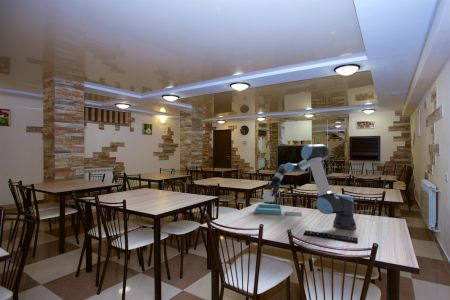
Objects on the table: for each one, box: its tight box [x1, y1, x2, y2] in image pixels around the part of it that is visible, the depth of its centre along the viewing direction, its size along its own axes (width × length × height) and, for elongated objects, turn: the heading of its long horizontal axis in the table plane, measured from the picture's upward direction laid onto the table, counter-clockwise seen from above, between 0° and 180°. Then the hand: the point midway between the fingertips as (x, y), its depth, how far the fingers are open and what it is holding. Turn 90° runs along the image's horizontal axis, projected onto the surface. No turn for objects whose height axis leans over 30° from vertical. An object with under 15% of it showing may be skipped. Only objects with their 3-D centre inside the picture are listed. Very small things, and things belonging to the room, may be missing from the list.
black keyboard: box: [303, 230, 358, 244], centre depth 163 cm, size 8×32×2 cm, turn 62°
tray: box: [254, 203, 283, 216], centre depth 229 cm, size 22×22×4 cm
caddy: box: [262, 189, 275, 203], centre depth 229 cm, size 7×7×10 cm
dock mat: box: [284, 211, 303, 217], centre depth 218 cm, size 14×14×1 cm
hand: (266, 198), depth 227 cm, fingers closed on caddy, 7 cm apart
